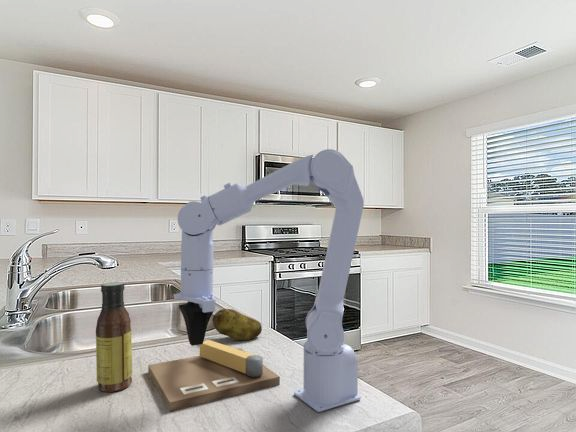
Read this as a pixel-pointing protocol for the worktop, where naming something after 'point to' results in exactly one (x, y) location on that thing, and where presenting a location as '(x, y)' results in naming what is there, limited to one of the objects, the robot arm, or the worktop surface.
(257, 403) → the worktop surface
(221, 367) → the label board
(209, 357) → the swing bar
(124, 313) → the sauce bottle
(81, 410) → the worktop surface
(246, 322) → the potato
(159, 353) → the worktop surface
